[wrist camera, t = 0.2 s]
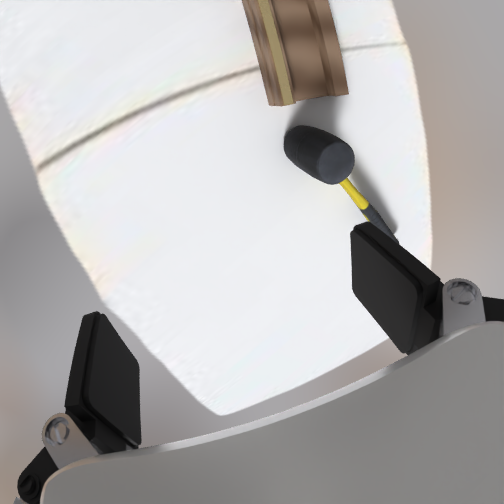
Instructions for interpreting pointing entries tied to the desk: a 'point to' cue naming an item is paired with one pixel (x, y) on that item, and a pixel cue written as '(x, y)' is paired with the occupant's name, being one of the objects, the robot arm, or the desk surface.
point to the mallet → (329, 165)
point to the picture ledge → (296, 49)
